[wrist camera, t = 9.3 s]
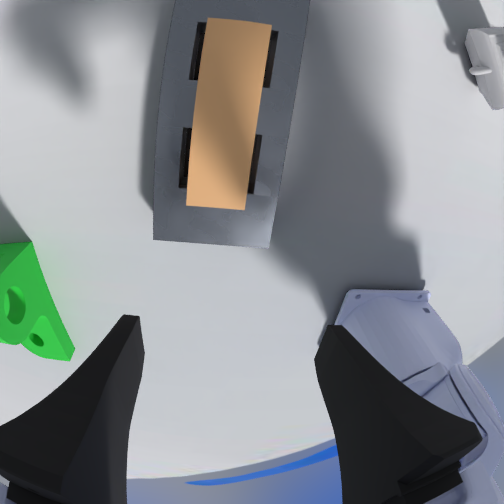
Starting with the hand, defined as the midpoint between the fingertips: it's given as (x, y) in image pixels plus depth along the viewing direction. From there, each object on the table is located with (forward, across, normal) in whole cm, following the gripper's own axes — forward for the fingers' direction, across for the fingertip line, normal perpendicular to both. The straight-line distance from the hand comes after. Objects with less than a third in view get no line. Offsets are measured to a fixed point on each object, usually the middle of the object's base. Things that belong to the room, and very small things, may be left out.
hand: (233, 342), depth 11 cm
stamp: (+11, -19, -18) cm, 28 cm away
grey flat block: (+10, +1, -8) cm, 13 cm away
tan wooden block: (+10, +1, -8) cm, 13 cm away
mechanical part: (+11, +18, +9) cm, 23 cm away
